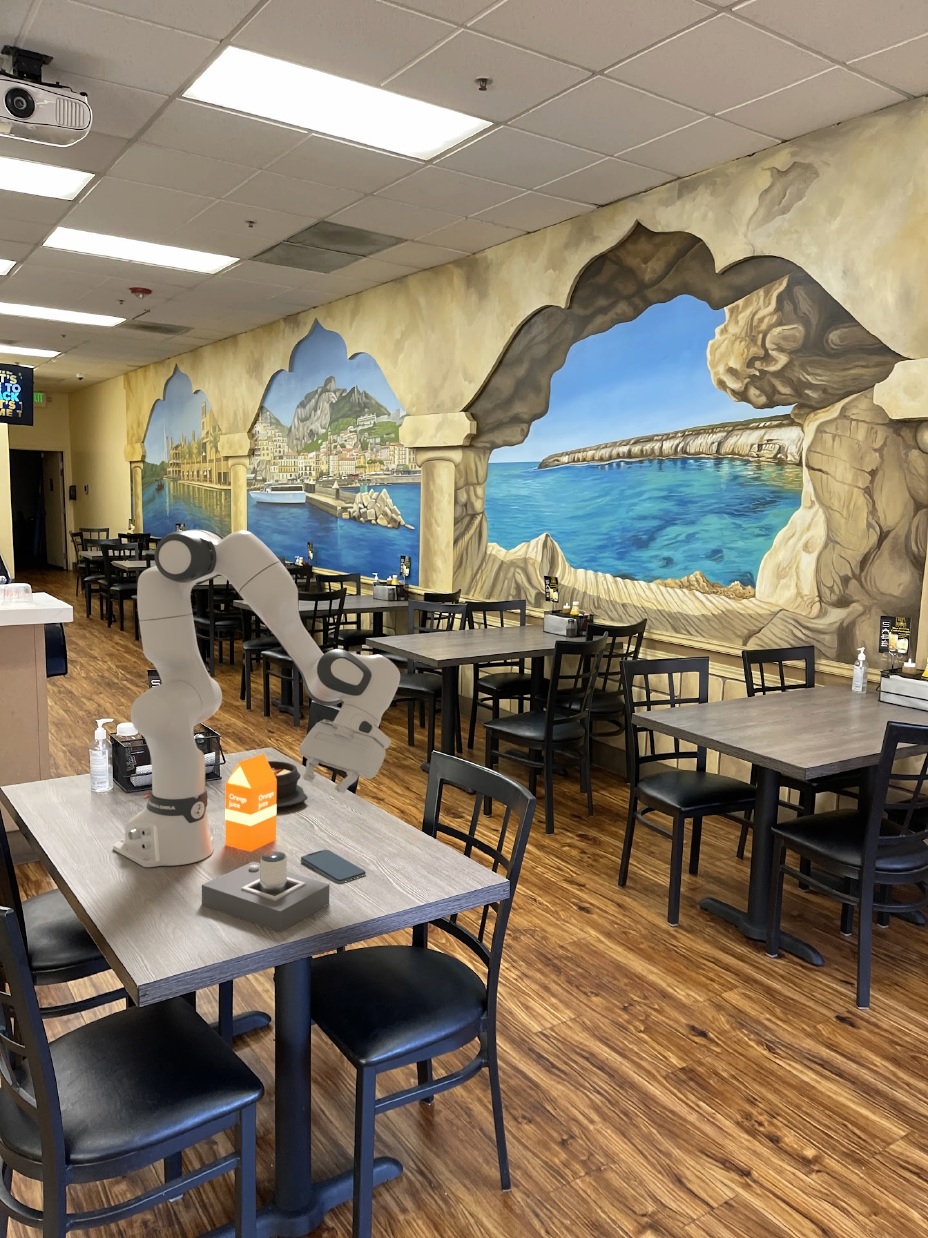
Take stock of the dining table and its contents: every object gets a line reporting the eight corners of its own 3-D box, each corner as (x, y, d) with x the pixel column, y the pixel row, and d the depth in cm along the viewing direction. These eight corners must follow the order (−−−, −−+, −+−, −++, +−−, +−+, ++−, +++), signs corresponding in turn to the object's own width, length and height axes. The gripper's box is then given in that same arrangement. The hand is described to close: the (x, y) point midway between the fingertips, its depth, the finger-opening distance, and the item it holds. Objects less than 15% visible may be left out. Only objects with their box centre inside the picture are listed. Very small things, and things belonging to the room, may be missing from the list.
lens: (253, 908, 166) (253, 857, 164) (272, 898, 170) (272, 848, 169) (274, 915, 163) (274, 863, 162) (292, 905, 168) (292, 854, 166)
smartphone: (338, 881, 178) (298, 856, 188) (338, 888, 178) (298, 863, 189) (368, 871, 183) (327, 848, 194) (367, 878, 183) (327, 855, 194)
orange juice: (224, 844, 197) (224, 759, 194) (251, 833, 205) (251, 751, 202) (251, 852, 193) (251, 765, 191) (276, 839, 201) (277, 756, 199)
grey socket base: (201, 904, 166) (201, 882, 166) (253, 879, 179) (253, 858, 178) (280, 932, 157) (280, 908, 156) (329, 904, 169) (329, 881, 168)
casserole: (212, 794, 232) (212, 764, 231) (272, 781, 245) (272, 752, 244) (262, 819, 214) (262, 786, 213) (324, 804, 227) (324, 773, 226)
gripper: (312, 710, 185) (279, 767, 180) (382, 729, 173) (349, 791, 168) (328, 724, 190) (297, 780, 184) (397, 744, 178) (366, 804, 172)
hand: (322, 786), depth 176 cm, fingers open, 8 cm apart
